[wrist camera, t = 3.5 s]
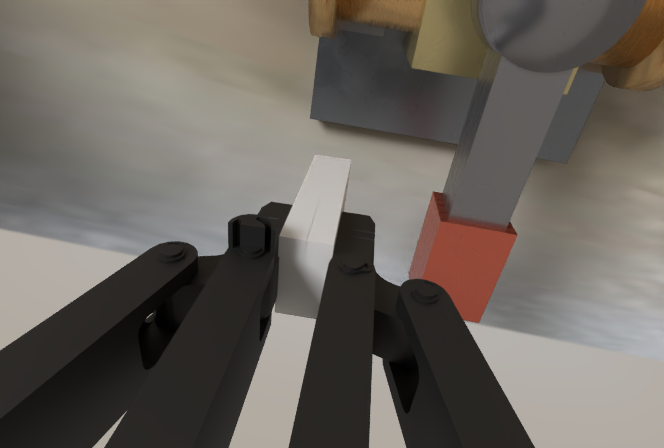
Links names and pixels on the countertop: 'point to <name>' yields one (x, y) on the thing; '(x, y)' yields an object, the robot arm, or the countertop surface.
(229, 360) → the robot arm
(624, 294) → the countertop surface
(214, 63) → the countertop surface
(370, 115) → the valve
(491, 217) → the lever
